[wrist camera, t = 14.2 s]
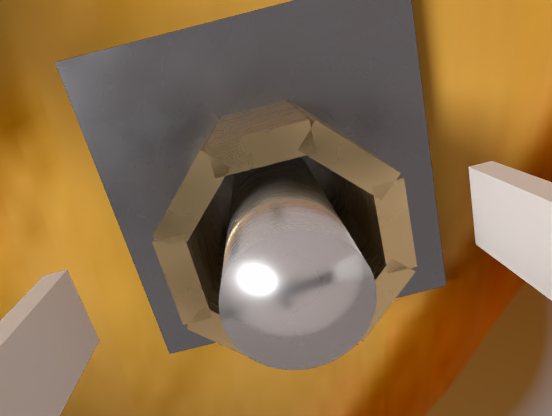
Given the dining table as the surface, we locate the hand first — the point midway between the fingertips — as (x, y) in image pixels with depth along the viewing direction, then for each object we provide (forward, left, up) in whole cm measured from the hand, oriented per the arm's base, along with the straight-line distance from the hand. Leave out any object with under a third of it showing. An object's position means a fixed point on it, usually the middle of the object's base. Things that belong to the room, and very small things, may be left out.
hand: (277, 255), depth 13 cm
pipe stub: (0, 0, -9) cm, 9 cm away
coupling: (0, 0, -8) cm, 8 cm away
